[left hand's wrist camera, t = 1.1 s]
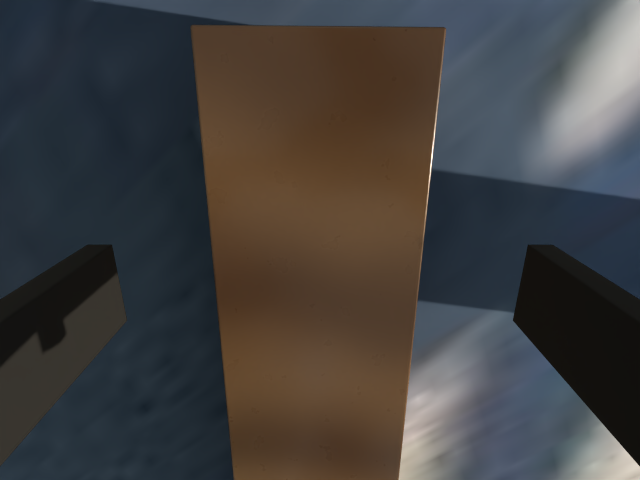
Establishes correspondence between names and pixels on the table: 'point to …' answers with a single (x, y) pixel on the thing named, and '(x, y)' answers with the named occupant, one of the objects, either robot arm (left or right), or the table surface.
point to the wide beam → (317, 236)
